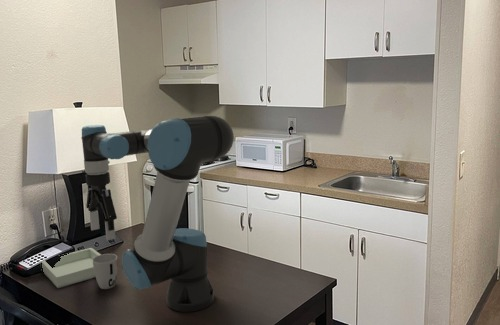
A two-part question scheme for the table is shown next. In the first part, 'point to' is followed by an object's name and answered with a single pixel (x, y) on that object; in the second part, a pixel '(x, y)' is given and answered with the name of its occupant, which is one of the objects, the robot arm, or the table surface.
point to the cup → (105, 270)
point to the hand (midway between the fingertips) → (102, 234)
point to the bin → (71, 268)
